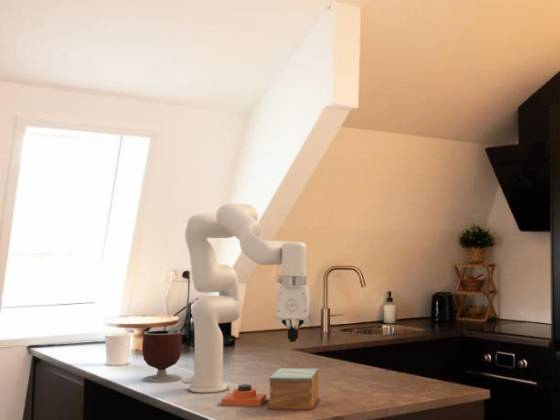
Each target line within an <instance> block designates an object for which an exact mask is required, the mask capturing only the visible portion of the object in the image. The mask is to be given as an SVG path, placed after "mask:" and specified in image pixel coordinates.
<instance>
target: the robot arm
mask: <svg viewBox="0 0 560 420" xmlns="http://www.w3.org/2000/svg"><path fill="white" fill-rule="evenodd" d="M261 232H262V226H261V223H260V221H259V214H258V211H257V209H256V208H255V207H254V206H252V205H251V204H247V203H225V204H222V205H221V206H219V207H218V208H217V211H216V212H215V213H213V212H212V213H211V212H203V213H197V214H193V215H191V216H190V217H189V218H188V219H187V221H186V223H185V226H184V240H185V243H186V246H187V249H188V254H189V261H190V269H191V276H192V284H193V288H194V289H195V291H196V292H199V293H202V294H203V293H206V294H207V293H218V294H219V295H209V296H207V295H206V296H202V297H199V298H197V299H196V300H195V301H194V302H193V303H192V306H191V317H192V321H193V328H194V329H193V330H194V333H193V334H194V362H193V363H194V364H193V366H194V367H193V368H194V369H193V370H194V371H193V374H194V375H193V376H191V377H188V376H183V377H182V379H181V382H182V384H188V385H189V384H190V386H189V392H191V393H192V392H193V393H201V394H202V393H203V394H204V393H205V394H206V393H219V392H223V391H226V390H228V384H226V383H224V335H223V331H222V330H221V328H220V326H219V324H227V323H233V322H236V321H237V320H238V319H239V318H240V316H241V313H242V301H241V293H240V287H239V286H240V285H239V279H238V275H237V272H236V270H235V269H234V267H232V266H231V265H230V264H229V265H228V264H218V263H217V259H216V253H215V249H214V247H213V246H212V244H211V243H210V242H209V241H208V239H229V238H233V237H235V238H236V239H237V240H239V241H238V243H239V247H240V250H241V252H242V254H243V255H245V256H246V257H247V258H249V260H250V261H252V262H254V263H255V264H257V265H260V266H273V265H274V266H275V265H276V266H277V265H278V266H279V265H281V276H280V277H276V283H280V285H279V286H278V288H277V293H276V294H277V295H276V304H275V316H276V317H275V322H276V323H280V324H283V325H284V326H285V327H286V328H287V339H288V340H289V343H296V342H297V340H298V339H299V328H301V326H302V325H303V324H304V325H305V324H307V323H308V324H309V323H310V322H311V321H312V320H311V298H310V289H309V286H308V285H307V245H306V243H304V242H303V241H286V240H263V239H261V238H259V236H261ZM292 320H294V326H293V323H292Z"/></svg>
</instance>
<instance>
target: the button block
mask: <svg viewBox="0 0 560 420" xmlns="http://www.w3.org/2000/svg"><path fill="white" fill-rule="evenodd" d="M266 401H267V393H257V389H256V388H254V387H251V391H238V388H234V389H233V390H232V392H229V393H228V394H226V395H225V396H224V397H223V398H222V399H221V406H223V407H226V406H227V407H229V406H231V407H237V406H238V407H261V406H262V405H263V404H264V403H265V402H266Z"/></svg>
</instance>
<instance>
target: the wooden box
mask: <svg viewBox="0 0 560 420" xmlns="http://www.w3.org/2000/svg"><path fill="white" fill-rule="evenodd" d="M318 401H319V371H318V372H317V374H316V375H315V376H314V378H313V379H312V380H311V381H284V380H270V379H269V410H295V411H296V410H298V411H299V410H300V411H302V410H303V411H304V410H305V411H306V410H307V411H312V410H313V408H314V406H315V405H316V403H317V402H318Z"/></svg>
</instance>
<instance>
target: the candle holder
mask: <svg viewBox="0 0 560 420" xmlns="http://www.w3.org/2000/svg"><path fill="white" fill-rule="evenodd" d="M104 339H105V355H106V356H105V359H106V365H107V366H124V365H127V364H129V358H130V357H129V355H130V344H131V333H128V332H114V333H113V332H112V333H106V334H105V335H104Z"/></svg>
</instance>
